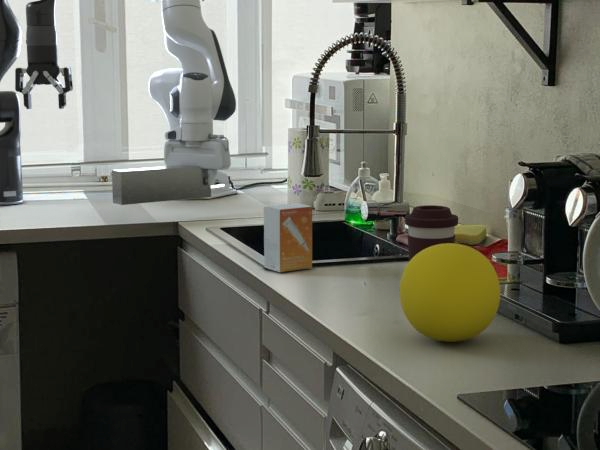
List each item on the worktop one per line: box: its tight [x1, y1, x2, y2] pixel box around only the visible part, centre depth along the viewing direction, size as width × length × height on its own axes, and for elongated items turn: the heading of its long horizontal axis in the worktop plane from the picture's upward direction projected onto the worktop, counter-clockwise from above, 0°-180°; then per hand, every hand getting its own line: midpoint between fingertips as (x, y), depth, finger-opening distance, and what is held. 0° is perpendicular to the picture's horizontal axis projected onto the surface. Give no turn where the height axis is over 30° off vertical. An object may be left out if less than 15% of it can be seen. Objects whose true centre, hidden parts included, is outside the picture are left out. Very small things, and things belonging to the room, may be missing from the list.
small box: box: [263, 202, 313, 273], centre depth 214 cm, size 8×6×13 cm
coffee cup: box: [404, 204, 459, 262], centre depth 197 cm, size 10×10×15 cm
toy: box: [399, 243, 501, 343], centre depth 160 cm, size 15×15×15 cm
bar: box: [111, 165, 211, 206], centre depth 277 cm, size 26×5×9 cm, turn 125°
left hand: (45, 108), depth 266 cm, fingers open, 8 cm apart
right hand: (197, 184), depth 283 cm, fingers closed on bar, 6 cm apart
